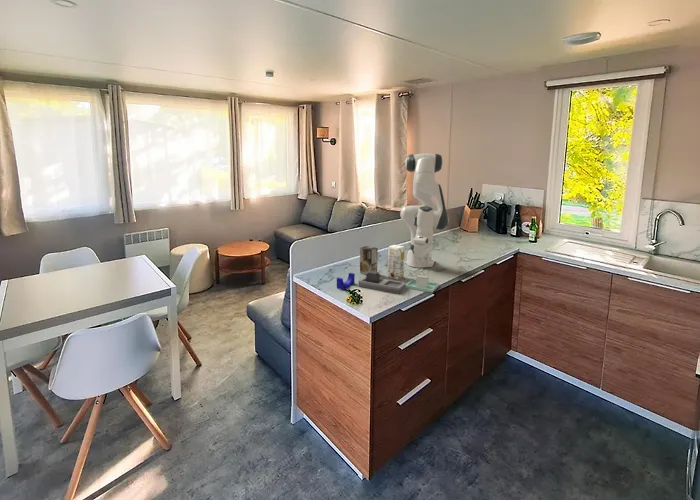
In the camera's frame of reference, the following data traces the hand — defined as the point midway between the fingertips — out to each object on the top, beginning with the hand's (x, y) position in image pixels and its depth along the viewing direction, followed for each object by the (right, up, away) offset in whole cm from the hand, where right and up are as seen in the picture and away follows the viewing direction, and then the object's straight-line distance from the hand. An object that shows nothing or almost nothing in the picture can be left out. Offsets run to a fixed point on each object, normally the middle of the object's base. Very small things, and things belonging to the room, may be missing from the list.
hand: (423, 262), depth 208 cm
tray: (0, -14, +4) cm, 14 cm away
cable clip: (-41, -14, +5) cm, 44 cm away
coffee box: (-28, -8, +27) cm, 40 cm away
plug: (0, -13, +4) cm, 14 cm away
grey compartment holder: (-22, -14, +3) cm, 26 cm away
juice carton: (-13, -10, +20) cm, 25 cm away
